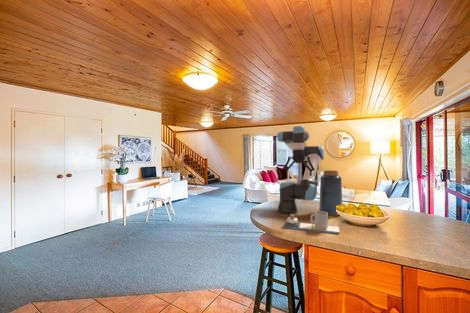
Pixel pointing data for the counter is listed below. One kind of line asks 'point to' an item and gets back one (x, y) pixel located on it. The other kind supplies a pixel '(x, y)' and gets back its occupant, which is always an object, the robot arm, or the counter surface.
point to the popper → (292, 219)
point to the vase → (330, 192)
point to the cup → (320, 219)
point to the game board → (311, 227)
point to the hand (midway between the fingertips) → (298, 180)
